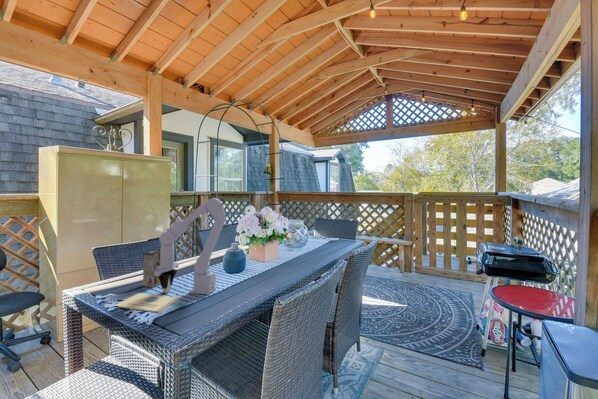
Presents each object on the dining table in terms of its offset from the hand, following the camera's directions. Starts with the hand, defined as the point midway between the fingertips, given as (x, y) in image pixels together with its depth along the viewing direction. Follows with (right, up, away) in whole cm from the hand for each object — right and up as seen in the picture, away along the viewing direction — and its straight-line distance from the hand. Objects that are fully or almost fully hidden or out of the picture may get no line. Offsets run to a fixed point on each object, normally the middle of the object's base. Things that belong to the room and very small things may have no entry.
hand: (166, 287), depth 132 cm
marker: (0, -2, 0) cm, 2 cm away
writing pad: (-2, -3, -12) cm, 12 cm away
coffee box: (-10, -2, +10) cm, 15 cm away
